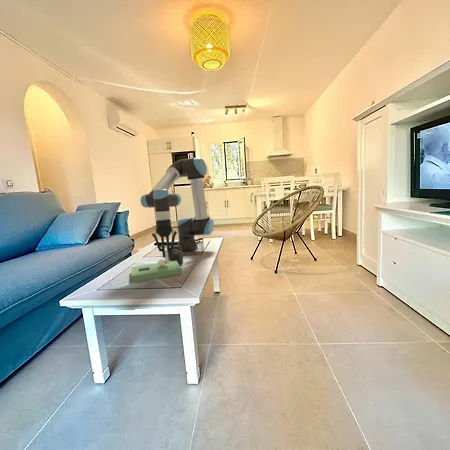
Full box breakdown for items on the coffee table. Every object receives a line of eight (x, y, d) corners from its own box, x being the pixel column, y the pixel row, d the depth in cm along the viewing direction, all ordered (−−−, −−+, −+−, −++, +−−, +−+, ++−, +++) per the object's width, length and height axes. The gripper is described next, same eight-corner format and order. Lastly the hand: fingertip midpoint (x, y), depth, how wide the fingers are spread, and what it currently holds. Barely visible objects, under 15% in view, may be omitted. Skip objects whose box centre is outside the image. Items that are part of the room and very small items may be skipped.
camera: (189, 261, 148) (187, 245, 146) (175, 265, 141) (173, 248, 139) (176, 258, 157) (175, 243, 156) (162, 262, 150) (161, 246, 149)
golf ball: (166, 263, 132) (163, 257, 131) (167, 265, 128) (163, 258, 127) (159, 267, 131) (156, 260, 130) (160, 269, 127) (156, 262, 126)
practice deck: (176, 265, 141) (176, 260, 140) (182, 274, 125) (181, 268, 124) (132, 272, 133) (132, 266, 132) (132, 282, 117) (131, 276, 116)
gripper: (174, 217, 133) (178, 259, 136) (149, 219, 128) (154, 263, 131) (176, 218, 126) (180, 263, 129) (150, 221, 121) (155, 266, 124)
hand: (167, 263), depth 130 cm, fingers closed
